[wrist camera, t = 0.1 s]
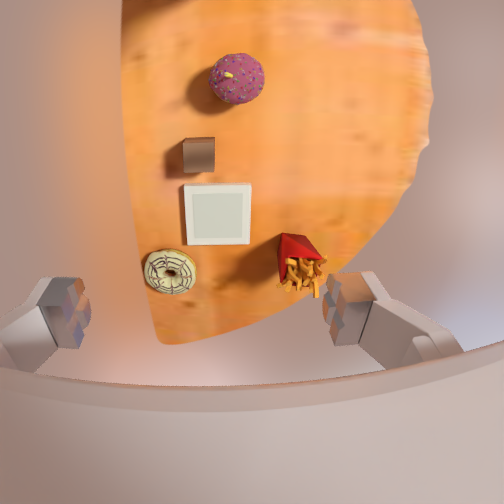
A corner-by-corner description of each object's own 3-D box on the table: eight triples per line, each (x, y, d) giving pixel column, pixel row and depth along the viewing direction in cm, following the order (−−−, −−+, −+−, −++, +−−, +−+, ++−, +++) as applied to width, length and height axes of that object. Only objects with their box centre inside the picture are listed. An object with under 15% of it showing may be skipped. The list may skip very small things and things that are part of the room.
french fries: (302, 260, 68) (320, 306, 55) (264, 256, 66) (275, 303, 53) (313, 222, 63) (336, 263, 50) (273, 217, 62) (287, 258, 49)
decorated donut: (143, 245, 63) (139, 255, 59) (194, 243, 64) (193, 253, 60) (150, 287, 68) (147, 297, 65) (198, 286, 69) (197, 296, 66)
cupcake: (204, 95, 49) (200, 99, 39) (218, 49, 45) (217, 41, 35) (253, 107, 51) (262, 115, 41) (268, 62, 47) (280, 58, 37)
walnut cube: (186, 137, 53) (182, 143, 48) (214, 137, 53) (214, 142, 49) (186, 164, 55) (183, 172, 51) (214, 164, 56) (214, 172, 51)
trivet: (184, 183, 57) (183, 186, 55) (250, 182, 58) (251, 185, 57) (188, 241, 63) (187, 245, 62) (248, 240, 64) (249, 244, 63)
